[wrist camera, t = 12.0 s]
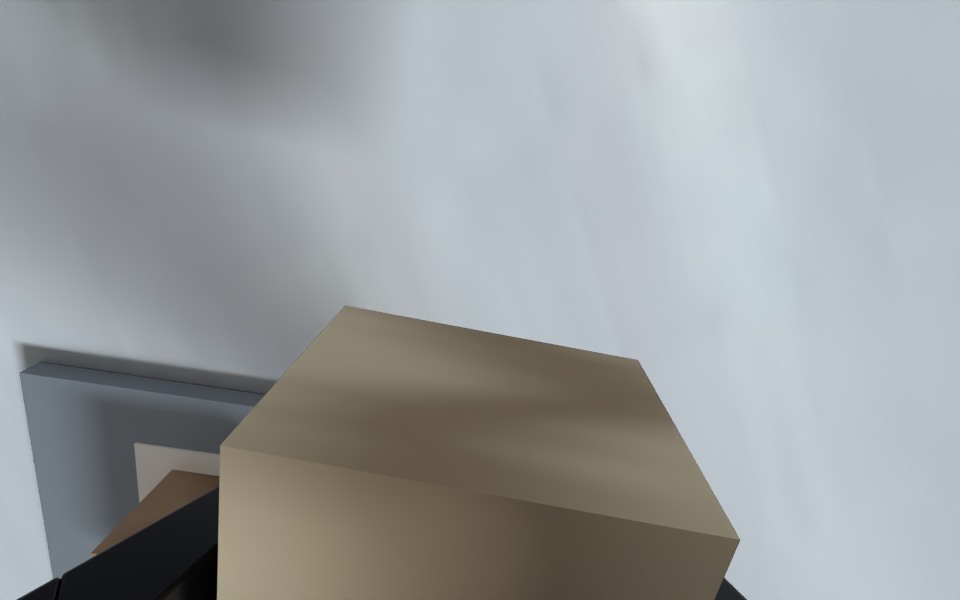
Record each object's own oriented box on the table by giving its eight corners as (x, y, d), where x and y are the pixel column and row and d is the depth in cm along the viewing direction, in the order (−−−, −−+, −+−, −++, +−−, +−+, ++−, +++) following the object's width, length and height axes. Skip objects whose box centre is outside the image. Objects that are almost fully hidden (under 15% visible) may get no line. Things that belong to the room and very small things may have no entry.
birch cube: (637, 359, 9) (739, 539, 5) (568, 583, 10) (605, 850, 7) (344, 305, 9) (220, 445, 5) (320, 539, 10) (213, 782, 6)
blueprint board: (467, 424, 22) (465, 439, 21) (431, 663, 26) (428, 685, 25) (40, 362, 22) (17, 373, 21) (78, 611, 26) (60, 631, 25)
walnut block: (313, 489, 22) (266, 578, 17) (309, 614, 24) (266, 719, 20) (172, 469, 22) (90, 553, 17) (180, 595, 24) (110, 697, 20)
